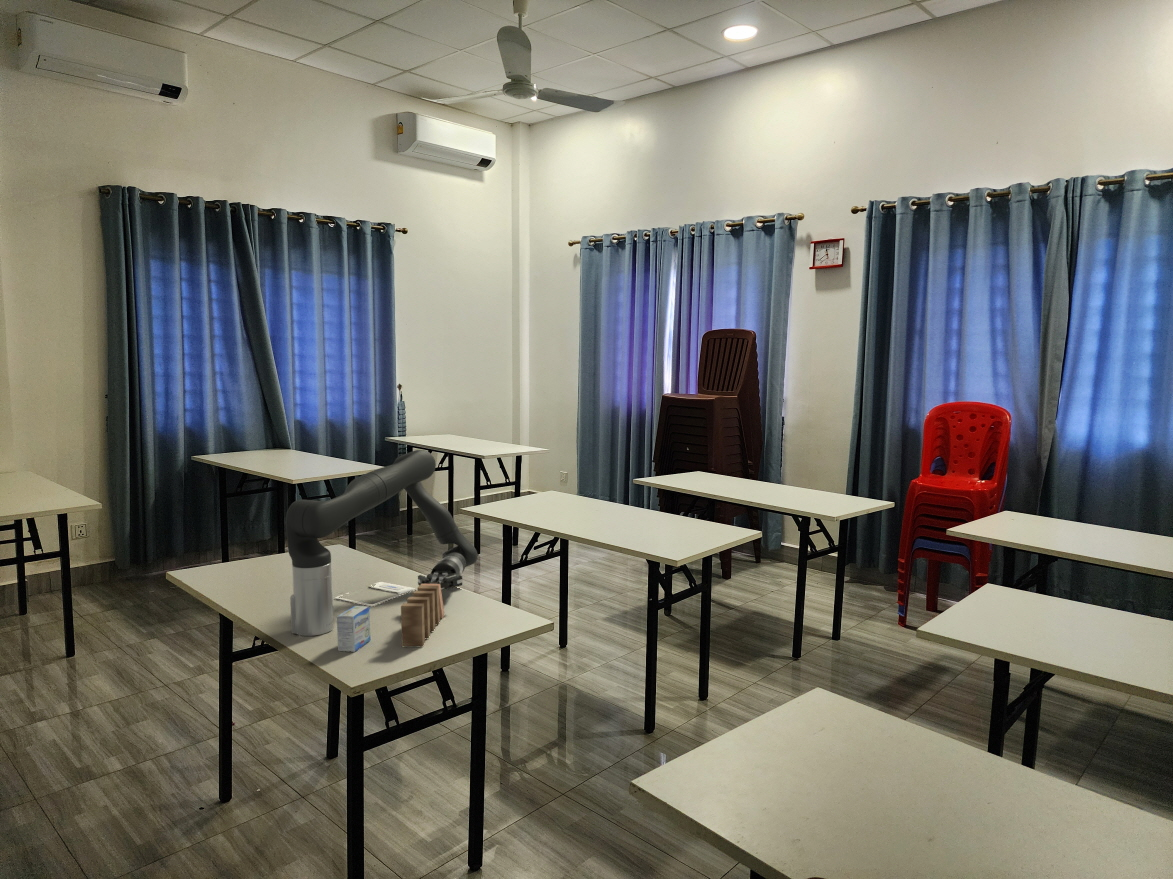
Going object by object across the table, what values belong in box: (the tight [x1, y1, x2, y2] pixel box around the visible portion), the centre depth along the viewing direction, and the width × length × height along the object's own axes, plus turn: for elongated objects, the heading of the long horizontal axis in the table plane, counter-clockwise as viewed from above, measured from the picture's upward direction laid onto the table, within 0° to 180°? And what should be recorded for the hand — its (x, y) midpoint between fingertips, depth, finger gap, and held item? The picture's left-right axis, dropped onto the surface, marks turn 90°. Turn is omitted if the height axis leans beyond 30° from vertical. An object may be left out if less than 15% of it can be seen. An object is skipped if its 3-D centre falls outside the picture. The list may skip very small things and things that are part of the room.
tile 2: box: [416, 585, 441, 625], centre depth 193 cm, size 5×2×10 cm, turn 87°
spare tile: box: [421, 584, 445, 619], centre depth 196 cm, size 5×2×10 cm, turn 87°
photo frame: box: [334, 581, 417, 607], centre depth 218 cm, size 15×1×18 cm
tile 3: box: [412, 590, 436, 632], centre depth 188 cm, size 5×2×10 cm, turn 87°
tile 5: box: [400, 602, 426, 647], centre depth 178 cm, size 5×2×10 cm, turn 87°
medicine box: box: [336, 605, 371, 653], centre depth 178 cm, size 8×4×9 cm, turn 168°
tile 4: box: [406, 596, 431, 639], centre depth 183 cm, size 5×2×10 cm, turn 87°
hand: (432, 589), depth 196 cm, fingers closed
